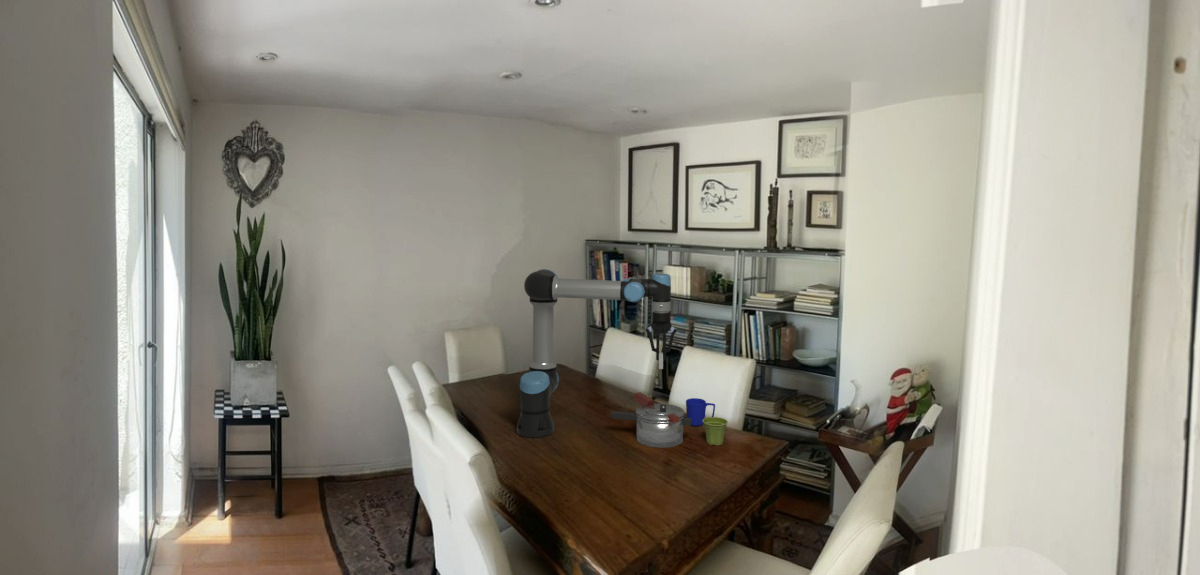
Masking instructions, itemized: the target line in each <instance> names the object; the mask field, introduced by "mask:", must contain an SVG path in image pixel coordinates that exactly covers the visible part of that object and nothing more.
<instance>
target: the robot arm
mask: <svg viewBox="0 0 1200 575" xmlns="http://www.w3.org/2000/svg"><path fill="white" fill-rule="evenodd" d="M671 277H672V276H671V275H670V274H669V273H653V274H652V275H651V278H624V279H623V280H608V279H607V280H602V279H585V278H584V279H582V278H581V279H580V278H562V277H561V278H560V277H559V276H558V275H557V274H556V273H555V272H554V271H552V270H551V269H545V268H544V269H542V268H541V269H539V270H537V271H533V272H531V273H529V274H528V276H527V277H526V278H525V280H524V285H523V288H524V291H525V293H526V295H527V296H528V297H529V303H530V304H531V305H532V308H533V309H532V315H533V316H532V362H531V363H530V364H529V365H528V372H526V373H524V374H522V375H521V377H520V380H519V381H520V383H519V389H520V398H519V399H520V415H519V418H518V421H517V424H516V434H518V435H519V436H521V437H524V438H530V439H531V438H542V437H547V436H550V435H551V434H553V433H554V432H555V423H554V421H553V418H552V415H551V413H550V411H551V410H550V406H551V405H550V397H551V395H552V394H553V393H554V392H555V391H556V389H557V388H558V386H559V374H558V370H557V369H558V368H557V364H556V362H554V311H555V310H554V306H555V305H556V304H557V303H558V298H562V299H563V298H565V299H583V300H585V299H589V300H609V301H611V300H613V301H626V302H627V301H628V302H630V303H637V302H640V301H641V300H642V299H643V298H651V311H652V313H651V320H652V321H651V324H650V326H649V327H646V328H645V332H646V334H647V335H648V339H649V345H650V347H651V348H650V349H651V351H652V352H655V357H656V358H655V360H656V361H658V370H663V369H664V361H666V359H667V353H669V352H671V349H672V345H673V342H674V337H675V335H676V333H677V331H678V329H677V327H674V326H672V323H671V312H670V311H671V304H672V300H671V296H672V295H671V294H672V279H671ZM652 330H653V332H654V333H655V334H656V339H655V340H656V343H654V342H655V341H654V339H653V335H652ZM669 331H670V332H671V334H670V337H669V341H668V345H667V334H668V332H669ZM660 335H662V351H660Z"/></svg>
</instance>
